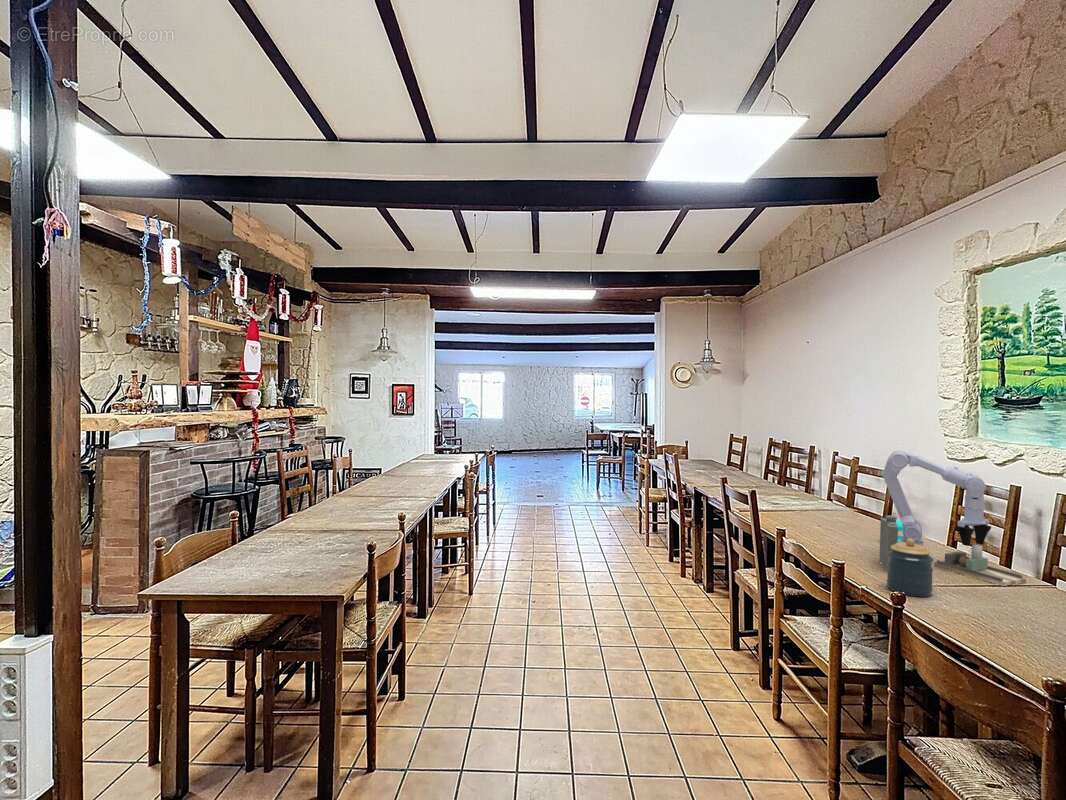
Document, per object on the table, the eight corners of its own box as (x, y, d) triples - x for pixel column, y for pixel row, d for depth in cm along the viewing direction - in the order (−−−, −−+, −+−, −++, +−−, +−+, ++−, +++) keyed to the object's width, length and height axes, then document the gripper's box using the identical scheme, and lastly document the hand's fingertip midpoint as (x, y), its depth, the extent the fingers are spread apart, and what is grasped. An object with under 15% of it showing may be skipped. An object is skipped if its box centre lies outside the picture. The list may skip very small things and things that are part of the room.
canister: (922, 586, 196) (923, 535, 195) (940, 599, 183) (941, 545, 183) (880, 582, 199) (881, 532, 198) (895, 595, 186) (896, 542, 186)
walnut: (967, 568, 211) (967, 558, 211) (956, 565, 215) (956, 555, 215) (974, 567, 212) (974, 557, 212) (963, 564, 216) (963, 554, 216)
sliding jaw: (973, 571, 207) (973, 547, 207) (964, 569, 210) (964, 545, 210) (989, 569, 210) (989, 545, 210) (980, 567, 213) (980, 543, 213)
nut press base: (1004, 586, 196) (1004, 570, 196) (933, 566, 219) (934, 551, 218) (1025, 583, 200) (1026, 567, 200) (954, 563, 223) (955, 549, 223)
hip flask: (878, 561, 224) (880, 511, 223) (890, 562, 222) (891, 512, 222) (887, 573, 209) (889, 519, 209) (900, 575, 207) (902, 520, 207)
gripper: (972, 512, 206) (971, 549, 206) (998, 509, 211) (997, 545, 211) (952, 508, 212) (951, 543, 212) (978, 505, 217) (977, 541, 217)
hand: (972, 544), depth 212 cm, fingers open, 7 cm apart
